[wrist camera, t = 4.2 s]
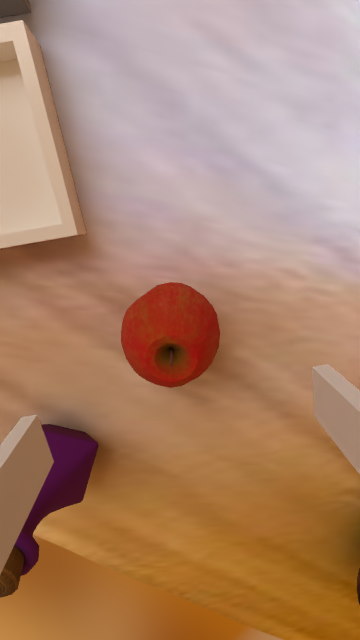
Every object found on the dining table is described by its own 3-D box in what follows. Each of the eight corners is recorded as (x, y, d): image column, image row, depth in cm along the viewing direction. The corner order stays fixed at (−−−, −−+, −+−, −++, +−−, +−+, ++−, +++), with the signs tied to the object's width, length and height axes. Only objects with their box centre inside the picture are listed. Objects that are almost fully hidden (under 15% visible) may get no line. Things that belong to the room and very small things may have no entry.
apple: (156, 258, 28) (151, 276, 18) (228, 304, 30) (262, 344, 20) (112, 330, 30) (86, 384, 20) (183, 370, 32) (192, 438, 22)
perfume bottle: (34, 406, 32) (-116, 613, 15) (105, 423, 33) (41, 635, 16) (22, 463, 34) (-123, 705, 17) (89, 477, 35) (17, 719, 18)
